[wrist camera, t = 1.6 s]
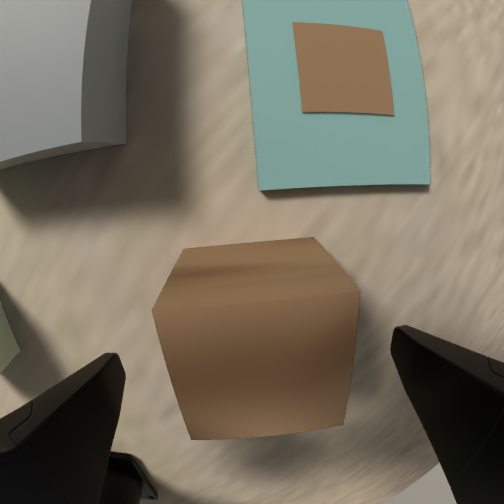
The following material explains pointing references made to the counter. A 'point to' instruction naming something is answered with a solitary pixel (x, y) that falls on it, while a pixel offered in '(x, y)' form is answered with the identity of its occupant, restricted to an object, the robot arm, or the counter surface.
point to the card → (336, 93)
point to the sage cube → (6, 341)
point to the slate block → (62, 77)
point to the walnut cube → (258, 338)
